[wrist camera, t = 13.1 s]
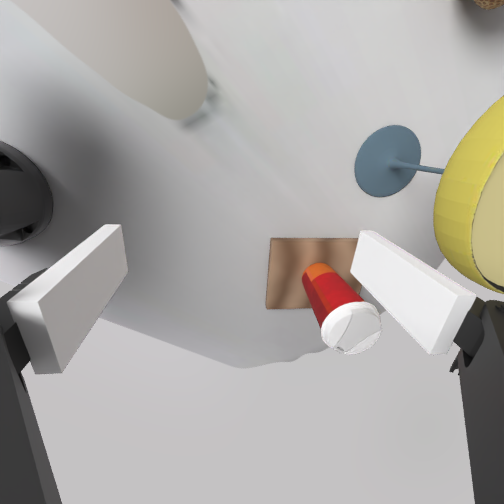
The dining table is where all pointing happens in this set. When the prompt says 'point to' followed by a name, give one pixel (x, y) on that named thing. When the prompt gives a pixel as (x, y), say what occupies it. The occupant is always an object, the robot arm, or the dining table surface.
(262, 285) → the dining table surface
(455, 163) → the cocktail glass
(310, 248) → the walnut board
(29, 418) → the robot arm
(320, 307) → the coffee cup
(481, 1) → the natural sponge
